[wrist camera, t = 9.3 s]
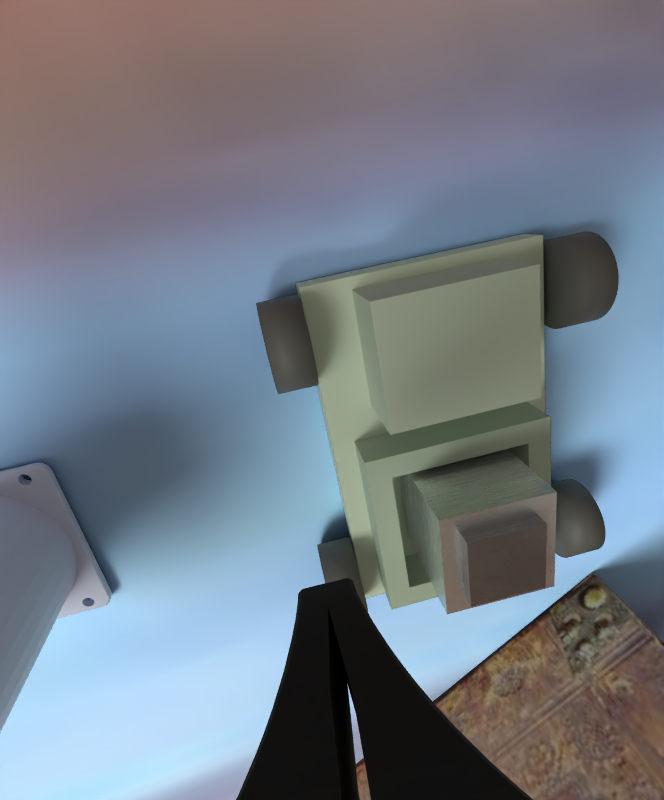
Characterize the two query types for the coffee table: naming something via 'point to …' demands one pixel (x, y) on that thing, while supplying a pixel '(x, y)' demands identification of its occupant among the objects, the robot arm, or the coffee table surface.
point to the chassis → (436, 382)
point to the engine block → (482, 528)
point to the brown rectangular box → (569, 703)
